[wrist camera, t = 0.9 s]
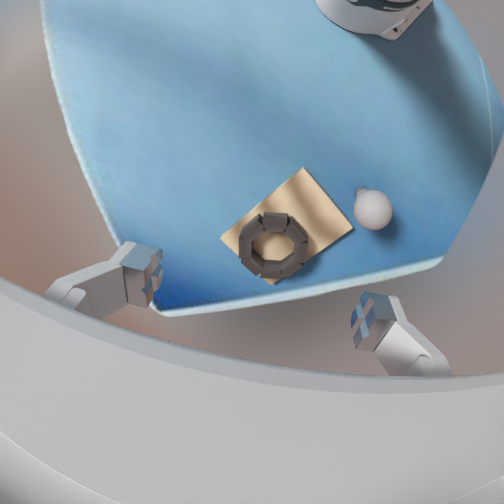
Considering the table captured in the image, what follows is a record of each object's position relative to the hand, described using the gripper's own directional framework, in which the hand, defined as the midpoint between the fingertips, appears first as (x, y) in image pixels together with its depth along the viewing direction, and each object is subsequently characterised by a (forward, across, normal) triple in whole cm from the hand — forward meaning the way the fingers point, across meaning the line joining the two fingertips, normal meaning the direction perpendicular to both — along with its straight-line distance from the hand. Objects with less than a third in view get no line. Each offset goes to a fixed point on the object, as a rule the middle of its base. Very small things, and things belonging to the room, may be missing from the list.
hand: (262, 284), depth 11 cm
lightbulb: (+38, -16, +6) cm, 41 cm away
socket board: (+37, -5, +16) cm, 41 cm away
